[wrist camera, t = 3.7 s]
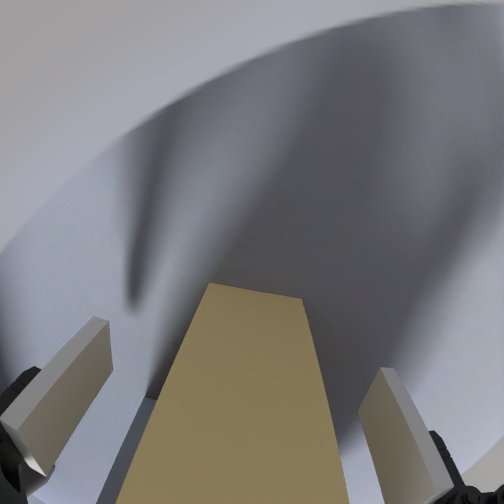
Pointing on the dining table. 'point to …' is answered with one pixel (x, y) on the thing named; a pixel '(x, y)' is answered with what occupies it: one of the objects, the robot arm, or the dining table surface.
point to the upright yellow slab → (240, 412)
